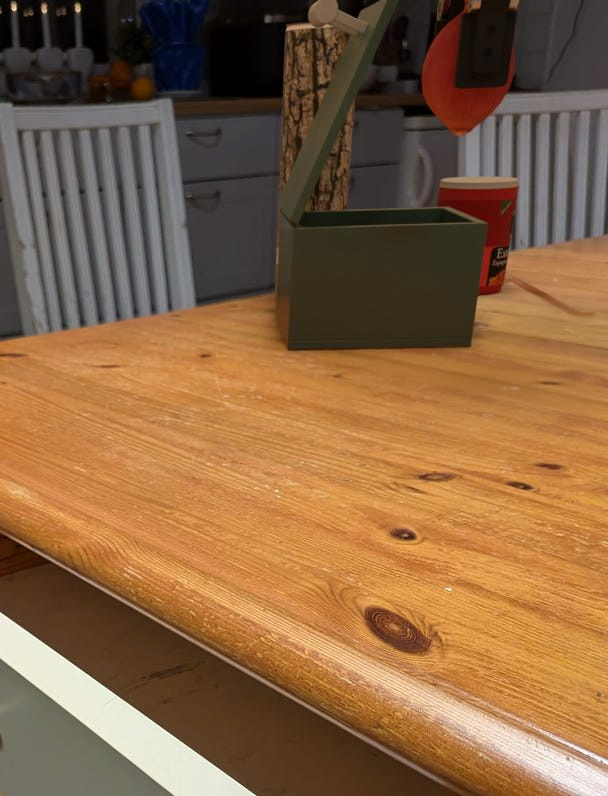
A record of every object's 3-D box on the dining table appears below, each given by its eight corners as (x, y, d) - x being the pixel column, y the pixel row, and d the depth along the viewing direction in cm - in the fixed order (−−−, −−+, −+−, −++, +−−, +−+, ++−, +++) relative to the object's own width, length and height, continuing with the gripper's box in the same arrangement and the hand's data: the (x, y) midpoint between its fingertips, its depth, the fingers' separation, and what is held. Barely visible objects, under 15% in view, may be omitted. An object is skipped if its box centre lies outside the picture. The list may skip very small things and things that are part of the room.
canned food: (503, 296, 101) (520, 181, 96) (424, 294, 104) (437, 182, 98) (503, 284, 108) (519, 175, 102) (429, 282, 110) (441, 176, 105)
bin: (435, 315, 94) (449, 206, 89) (471, 346, 82) (488, 223, 77) (275, 319, 95) (280, 211, 90) (287, 350, 83) (293, 228, 78)
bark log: (333, 311, 97) (354, 19, 85) (267, 309, 99) (278, 23, 87) (344, 299, 103) (365, 23, 90) (282, 297, 105) (294, 27, 92)
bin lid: (369, 14, 82) (314, -13, 81) (398, 0, 70) (335, -31, 70) (284, 208, 90) (233, 185, 89) (298, 224, 78) (240, 198, 77)
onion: (416, 135, 68) (429, 0, 64) (503, 132, 66) (522, -7, 62) (414, 139, 63) (428, -7, 59) (507, 136, 61) (528, -14, 57)
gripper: (640, -344, 47) (570, 84, 55) (528, -237, 62) (487, 86, 70) (483, -333, 47) (438, 90, 56) (409, -229, 62) (384, 91, 71)
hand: (466, 85), depth 63 cm, fingers closed on onion, 6 cm apart
